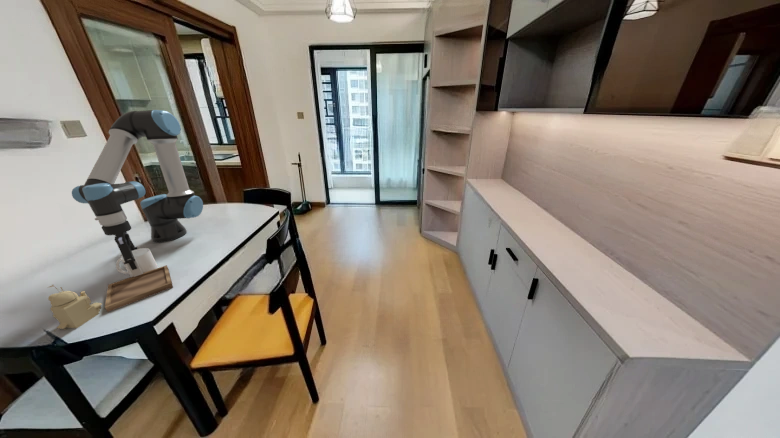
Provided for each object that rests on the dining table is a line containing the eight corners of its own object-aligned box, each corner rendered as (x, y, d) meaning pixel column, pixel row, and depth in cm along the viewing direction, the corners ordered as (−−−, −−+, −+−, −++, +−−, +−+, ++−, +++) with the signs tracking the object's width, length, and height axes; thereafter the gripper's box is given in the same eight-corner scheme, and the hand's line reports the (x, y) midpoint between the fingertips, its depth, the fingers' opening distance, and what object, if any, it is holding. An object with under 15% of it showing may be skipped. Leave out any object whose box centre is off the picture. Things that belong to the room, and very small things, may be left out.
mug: (162, 264, 114) (154, 246, 110) (150, 276, 106) (141, 257, 102) (131, 269, 111) (121, 251, 107) (116, 281, 103) (105, 262, 99)
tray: (110, 288, 99) (108, 284, 98) (168, 269, 110) (166, 265, 109) (107, 312, 87) (104, 307, 86) (173, 287, 98) (171, 283, 97)
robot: (88, 307, 89) (64, 272, 83) (108, 308, 88) (85, 273, 82) (49, 331, 80) (19, 293, 74) (71, 332, 79) (42, 294, 73)
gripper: (103, 218, 104) (126, 263, 112) (97, 234, 88) (125, 285, 96) (128, 213, 109) (148, 256, 117) (126, 227, 93) (150, 276, 101)
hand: (138, 269), depth 107 cm, fingers open, 12 cm apart
